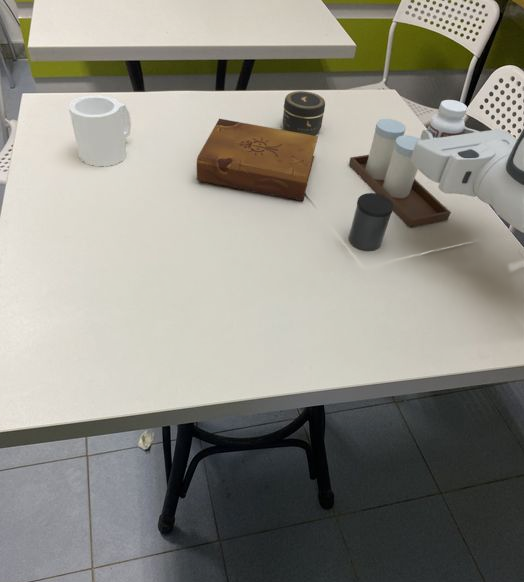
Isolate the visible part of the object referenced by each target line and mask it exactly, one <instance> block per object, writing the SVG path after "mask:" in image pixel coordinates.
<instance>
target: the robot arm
mask: <svg viewBox="0 0 524 582" xmlns="http://www.w3.org/2000/svg"><path fill="white" fill-rule="evenodd" d="M427 129H428V128H427ZM427 129H423V130H422V131H421V134H420V139H421V140H419V141H417V142H416V144H415V147H414V150H413V153H412V157H411V162H412V164H413V165H414V166H415V167H416V168H417V169H418V170H417V171H419V172H420V173H421V174H422V175H424V177H426V178H427V179H429V180H430V181H432V182H434V183H437V184H438V189H439V191H441V192H442V193H444V194H449V195H452V194H453V195H464V196H468V197H471V198H477V199H479V200H480V201H481V202H482V203H485V204H487V205H490V206H491V207H492V208H493V210H494V212H495V214H497V215H498V216H499V217H500V218H501V219H502V220H504V221H505V222H506V223H508V225H510V226H511V227H513V228H514V229H515V230H518V231H519V232H521V233H523V234H524V128H523V129H522V131H521V132H520V134H519V136H518V137H515V136H514V135H512V134H511V133H510V132H509V131H508V130H505V129H502V128H498V129H490V130H483V131H479V130H477V129H473V128H469V127H467V126H466V125H465V126H464V130H463V132H462V134H461V135H454V136H447V137H440V138H436V137H435V138H433V137H434V135H435V132H433V131H432V130H431V129H428V130H427Z"/></svg>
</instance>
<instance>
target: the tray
mask: <svg viewBox="0 0 524 582" xmlns="http://www.w3.org/2000/svg"><path fill="white" fill-rule="evenodd" d="M368 157H369V154H363V155H358V156H351V157H350V158H349V162H348V166H349V167H350V168H351V169H352V170H353V171H354V172H355V173H356V174H357V175H358V177H360V179H361V180H362V181H363V182H365V183H366V185H367V186H368V187H369V188H370V189H371V190H372V191H373V193H376V194H380V195H383V196H385V197H387V198H389V199H390V200H391V201H392V202H393V205H394V208H393V211H392V212H393V213H394V214H395V215H396V216H397V217H398V218H399V219H400V220H401V221H402V223H404V224H405V225H406V227H408V229H412V228H416V227H421V226H425V225H430V224H431V225H432V224H435V223H439V222H446V221H448V219H449V218H450V215H451V213H452V212H451V211H450V210H449V209H448V208H447V207H446V206H445V205H444V204H443V203H441V201H439V200H438V199H437V198H436V197H435V196H434V195H433V194H432V193H431V192H430V191H428V189H426V188H425V187H424V186H423V185H422V184H421V183H420V182H419V181H418V180H417V179H416V178H415V179H414V182H413V185H412V187H411V190H410V193H409V195H408V196H407V197H405V198H394V197H391V196H390V195H389V194H388V193H387V191H386V190H385V189H384V188H383V184H384V180H376V179H374V178H373V177H372V176H371V175H370V174H369V173H368V172H367V171H366V170H365V169H366V165H367V161H368Z"/></svg>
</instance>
